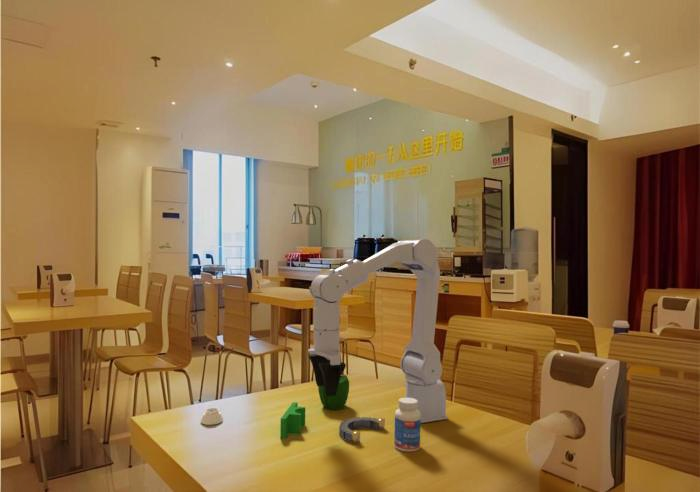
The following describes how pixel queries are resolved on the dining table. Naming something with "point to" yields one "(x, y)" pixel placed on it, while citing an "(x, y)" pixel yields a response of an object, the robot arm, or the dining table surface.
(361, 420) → the snap ring
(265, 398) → the dining table surface
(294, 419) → the pipe clamp
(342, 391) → the bell pepper
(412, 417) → the pill bottle
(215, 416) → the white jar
